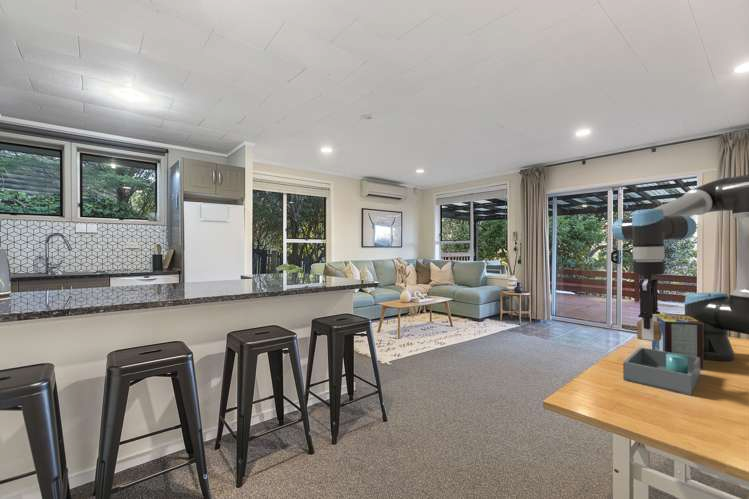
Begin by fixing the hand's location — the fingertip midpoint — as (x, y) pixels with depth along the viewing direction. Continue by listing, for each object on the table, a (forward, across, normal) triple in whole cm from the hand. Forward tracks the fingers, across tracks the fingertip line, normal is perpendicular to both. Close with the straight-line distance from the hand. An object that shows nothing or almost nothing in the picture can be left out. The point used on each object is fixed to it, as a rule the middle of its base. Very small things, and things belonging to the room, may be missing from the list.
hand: (649, 337), depth 107 cm
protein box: (+15, -30, +3) cm, 33 cm away
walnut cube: (0, 0, 0) cm, 0 cm away
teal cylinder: (+13, -6, +5) cm, 16 cm away
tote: (+14, -7, +2) cm, 15 cm away
